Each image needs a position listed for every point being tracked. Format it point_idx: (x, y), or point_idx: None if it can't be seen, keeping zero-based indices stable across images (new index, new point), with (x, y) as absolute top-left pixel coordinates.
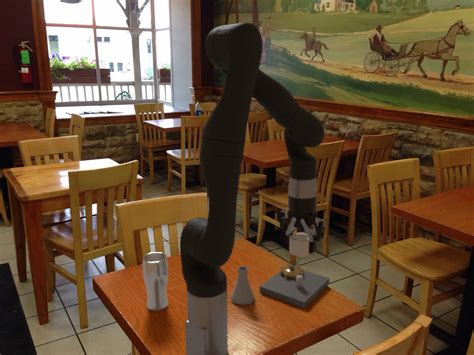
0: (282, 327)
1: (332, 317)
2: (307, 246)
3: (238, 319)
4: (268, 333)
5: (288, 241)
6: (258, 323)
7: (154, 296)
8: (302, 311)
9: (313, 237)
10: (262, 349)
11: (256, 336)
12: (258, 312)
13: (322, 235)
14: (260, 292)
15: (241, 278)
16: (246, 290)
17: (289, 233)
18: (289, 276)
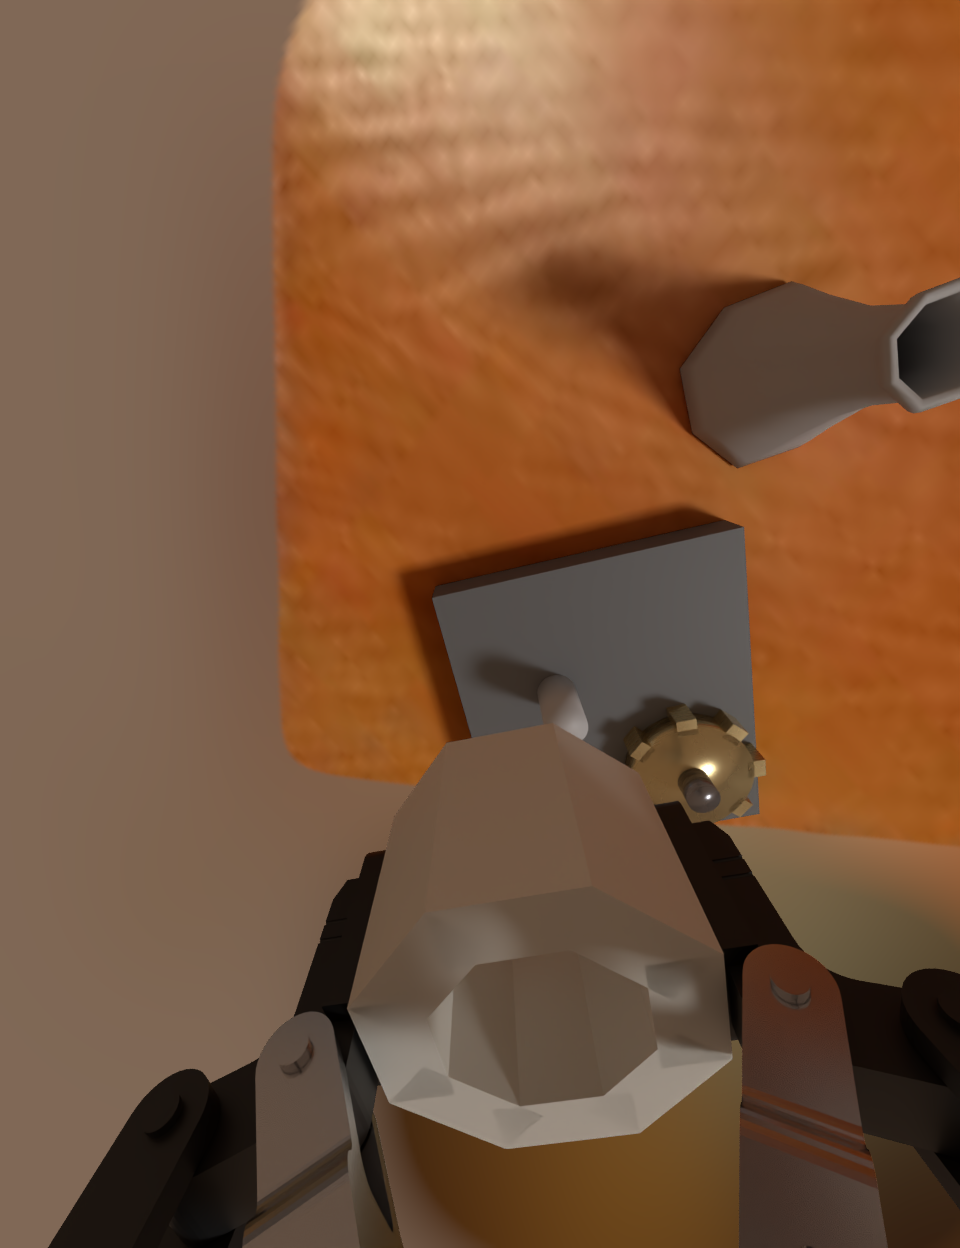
0: (383, 352)
1: (295, 631)
2: (376, 910)
3: (624, 172)
4: (389, 229)
5: (704, 863)
6: (503, 257)
7: None
8: (423, 560)
9: (266, 1126)
10: (289, 56)
11: (412, 132)
12: (585, 350)
13: (167, 1246)
14: (719, 521)
15: (865, 317)
16: (757, 354)
17: (753, 1005)
18: (664, 727)
